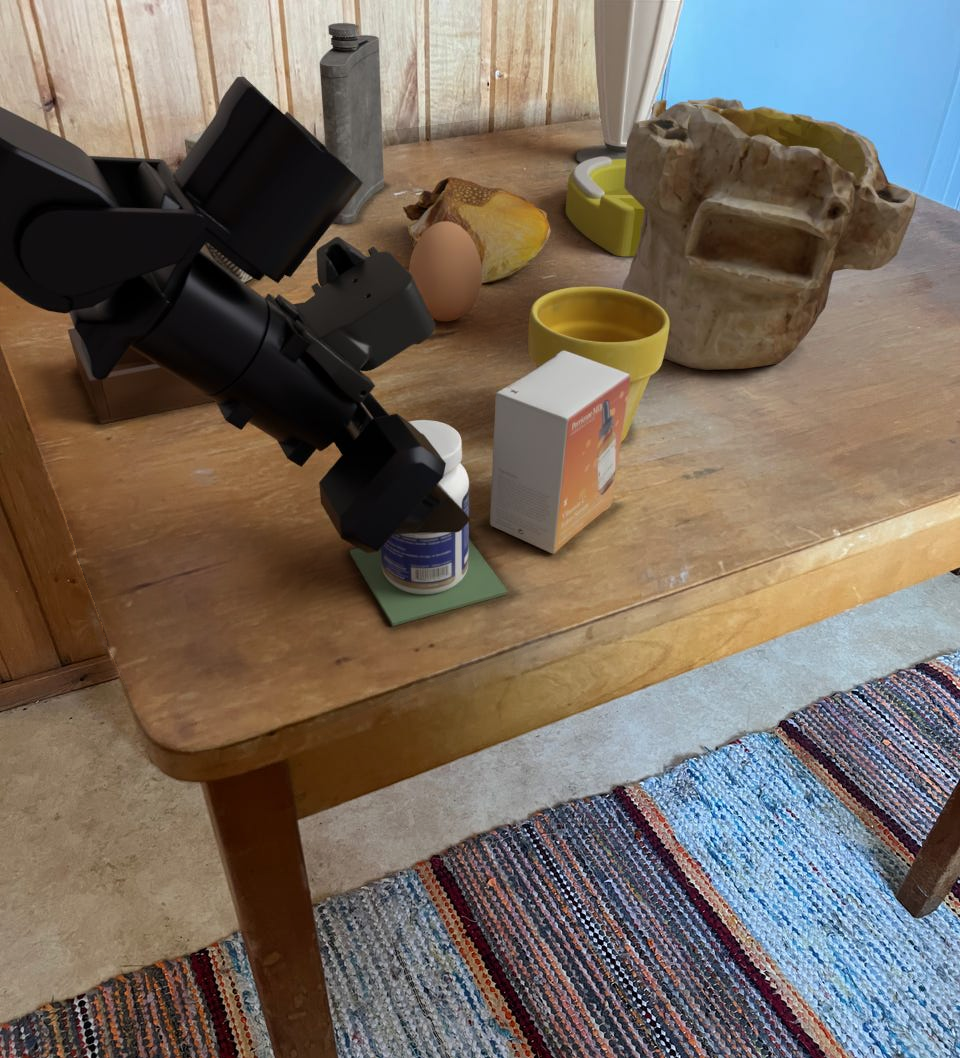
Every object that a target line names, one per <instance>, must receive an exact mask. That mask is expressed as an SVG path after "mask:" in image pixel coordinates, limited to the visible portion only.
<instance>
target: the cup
mask: <svg viewBox="0 0 960 1058" xmlns="http://www.w3.org/2000/svg"><path fill="white" fill-rule="evenodd" d="M684 2H685V0H593V31H594V32H593V33H594V53H595V55H594V56H595V57H594V58H595V75H596V86H597V88H596V89H597V98H598V99H597V101H598V109H599V116H600V123H601V129H602V130H601V131H602V136H603V142H604V145H595V146H591V147H590V146H589V147H586V148H583V149H581V150H580V151H579V152H577V153H576V161H577V162H578V164H580V163H582V162H584V161H586V160H589V159H592V158H596V157H602V156H603V157H609V158H610V159H626V145H627V140H628V138H629V135H630V133H631V131H632V128H633V125H634V123H636V122H640V121H644V120H650V119H651V116H652V107H653V104H654V103H656V100H657V98H658V94H659V91H660V88H661V85H662V82H663V79H664V75H665V72H666V70H667V69H666V68H667V65H668V61H669V59H670V54H671V51H672V48H673V45H674V41H675V37H676V33H677V30H678V25H679V22H680V18H681V14H682V10H683V6H684Z"/></svg>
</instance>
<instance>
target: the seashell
mask: <svg viewBox="0 0 960 1058" xmlns="http://www.w3.org/2000/svg"><path fill="white" fill-rule="evenodd" d="M402 209H403V211H404V213H405V215H406V218H407V219H408V220H410V221H411V222H414V221H415V222H414V223H410V224H409V225H408V226H407V232H408V235H409V237H410V239H411V244H412V246H413V249H414V248H415V246H416V244H417V242H418V240H419V239H420V237H421V236H422V234H423V233H424V232H425V231H426V230H427V229H428V228H429V227H430V226H432V225H434V224H436V223H439V222H444V221H448V222H452V223H455V224H457V225H459V226H460V227H462V228H463V229H464V230H465V231H466V232H467V233H468V234H469V236H470V237H471V239H472V240H473V242H474V244H475V246H476V249H477V251H478V254H479V256H480V261H481V266H482V284H487V283H493V282H496V281H499V280H501V279H504V278H508V277H509V276H511V275H513V274H515V273H516V272H518V271H519V270H521V269H522V268H525V266H527V265H529V264H530V263H532V262H533V261H534V260H535V259H536V257H537V255H538V254H539V252H541V251H542V250H543V249H544V247H545V246H546V244H547V242H548V240H549V239H550V235H551V227H550V226H551V225H550V222H549V221H548V213H547V212H546V211H545V210H543V209H541V208H538V207H537V206H536V205H534V204H533V203H532V202H530V201H528V200H527V199H526V198H524V197H522V196H520V195H517V194H516V193H513V192H509V191H508V190H505V189H503V188H499V187H488V186H483V185H480V184H478V183H476V182H474V181H471V180H466V179H462V178H457V177H453V176H450V177H449V176H448V177H447V178H445V179H442V180H440V181H439V182H438V183H437V184H436V186H434V189H433V190H432V191H429V190H423V191H422V192H421V193H420V194H419V198H418V201H417V202H416V203H415V204H409V205H407V206H404V205H403V206H402Z"/></svg>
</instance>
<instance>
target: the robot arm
mask: <svg viewBox="0 0 960 1058" xmlns="http://www.w3.org/2000/svg"><path fill="white" fill-rule="evenodd" d="M203 131H204V133H203V134H202V135H201V137H200V138H199V140H198V141H197V142H196V144H195V145H194V147H193V148H192V149H191V151H190V152H189V154H188V155H187V154H186V156H185V157H184V158H183V160H182V162H181V163H180V165H179V166H178V167H177V169H176V170H175V171H174V172H173V171H172V169H171V167H170V166H169V164H167V162H166V161H165V160H163V159H161V158H144V157H142V158H141V157H123V156H101V155H88V154H87V153H86V151H84V149H82V148H81V147H79V146H78V145H76V144H74V143H72V142H71V141H69V140H68V139H65V138H63V137H61V136H60V135H58V134H56V133H53V132H51V131H50V130H47V129H46V128H44V127H41V126H39V125H38V124H36V123H34V122H32V121H31V120H30V121H29V120H28V119H26V118H24V117H22V116H20V115H18V114H16V113H14V112H12V111H11V110H9V109H6V108H4V107H2V106H0V283H1V284H2V285H3V286H5V287H6V288H7V289H9V290H10V291H11V292H13V293H14V294H15V295H16V296H18V297H19V298H21V299H22V300H23V301H25V302H26V303H28V304H30V305H32V306H34V307H37V308H39V309H42V310H45V311H47V312H50V313H51V312H52V313H58V314H64V315H66V314H69V316H70V320H71V322H72V325H73V327H74V328H75V329H76V331H77V332H78V334H79V335H80V337H81V346H82V349H83V351H84V354H85V357H86V360H87V363H88V365H89V368H90V371H91V374H92V376H93V377H94V378H96V379H98V380H103V379H106V378H107V377H108V376H109V374H110V373H111V372H112V370H113V369H114V368H115V366H116V365H117V363H118V362H119V361H120V359H121V358H122V357H123V355H124V354H125V353H126V351H127V350H128V349H129V348H131V349H133V350H134V351H136V352H137V353H139V354H141V355H142V356H144V357H145V358H147V359H149V360H150V361H152V362H153V363H155V364H157V365H158V366H160V367H161V368H163V369H165V370H166V371H168V372H169V373H171V374H173V375H174V376H176V377H177V378H179V379H181V380H182V381H184V382H185V383H187V384H189V385H190V386H192V387H193V388H195V389H197V390H198V391H200V392H201V393H203V394H204V395H206V396H207V397H209V398H211V399H212V400H214V401H213V402H215V403H216V405H217V407H218V409H219V411H220V413H221V415H222V416H223V419H224V420H225V422H227V423H229V424H230V425H232V426H234V427H235V428H237V429H239V430H240V431H242V430H243V429H244V428H245V427H246V425H247V424H248V423H249V424H251V425H252V426H253V427H255V428H257V429H258V430H260V431H261V432H263V433H265V434H266V435H268V436H269V437H271V438H273V439H274V440H276V442H277V443H278V445H279V446H280V449H281V450H282V452H283V454H284V455H285V457H286V459H287V460H288V461H290V462H292V463H294V464H295V465H297V466H299V467H300V468H303V466H305V465H304V464H306V463H307V462H308V460H309V459H310V457H311V456H312V455H313V454H314V453H315V452H316V450H317V451H319V452H322V451H324V450H326V449H327V448H329V447H331V445H333V444H334V445H335V446H336V448H337V450H338V451H339V453H340V454H341V456H340V457H339V458H338V459H337V460H336V461H335V463H333V465H332V466H331V467H330V468H329V470H328V471H327V472H326V473H325V474H324V476H323V477H322V478H321V480H320V481H319V482H318V488H319V500H320V505H321V506H322V508H323V510H324V511H325V513H326V515H327V516H328V519H329V520H330V522H331V523H332V525H333V527H334V528H335V530H336V532H337V534H338V536H339V537H340V538H341V540H343V541H345V542H346V543H348V544H349V545H351V546H353V547H355V548H356V549H357V548H359V549H360V550H362V551H364V552H366V553H372V552H378V551H379V550H380V549H381V547H382V546H383V545H384V544H385V543H386V542H387V541H388V540H389V538H390V537H391V536H392V535H400V534H412V533H450V532H459V531H461V530H462V529H463V528H464V526H465V525H466V524H467V523H468V522H469V523H470V520H471V519H470V516H469V517H468V515H467V514H466V513H465V512H464V511H463V510H462V508H461V507H460V506H459V505H458V504H457V503H456V502H455V501H454V500H453V498H452V497H451V496H450V495H449V494H448V493H447V492H446V491H445V490H444V489H443V488H442V487H441V485H440V484H439V482H440V481H441V479H442V478H443V476H444V471H445V466H446V463H445V461H444V460H443V459H442V458H441V456H440V455H439V453H438V452H437V451H436V450H435V448H434V447H433V446H432V444H431V443H430V442H429V441H428V439H427V438H426V437H425V435H424V434H421V433H420V432H419V431H418V430H417V429H416V428H415V427H414V426H413V425H412V424H411V423H409V420H407V419H405V418H404V417H403V416H402V415H400V414H399V413H392V414H389V412H388V411H387V410H386V409H385V408H384V406H382V404H381V403H380V402H379V401H378V400H377V398H376V397H375V396H374V394H372V393H371V392H372V390H374V389H375V387H376V385H375V383H374V382H373V381H372V379H371V378H370V377H369V376H368V375H367V374H365V373H364V372H369V371H370V372H371V371H373V370H375V369H377V368H379V367H381V366H382V365H384V364H385V363H387V362H389V361H390V360H391V359H393V358H394V357H396V356H397V355H400V353H402V352H404V351H405V350H407V349H408V348H410V347H411V346H413V345H421V344H422V343H424V342H425V341H427V340H428V339H429V338H431V336H433V334H434V332H435V330H436V322H435V321H434V320H435V319H434V318H432V316H431V314H430V312H429V310H428V308H427V306H426V304H425V302H424V300H423V298H422V296H421V293H420V291H419V289H418V287H417V285H416V283H415V281H414V279H413V277H412V275H411V274H410V273H409V270H407V268H406V267H404V265H403V264H402V263H400V261H399V260H398V259H397V258H396V257H395V256H394V255H393V254H392V253H390V252H389V251H385V250H384V251H379V250H378V249H377V248H376V247H375V246H374V245H373V246H371V247H369V248H368V249H367V253H368V254H369V256H367V255H365V254H364V253H363V252H362V251H361V250H360V249H358V248H356V247H355V246H353V245H352V244H350V243H349V242H347V241H346V240H344V239H343V238H342V237H340V236H335V237H333V238H332V239H331V240H329V241H328V242H326V243H324V244H322V245H321V246H319V247H318V248H316V274H317V282H315V283H314V284H313V285H311V286H310V288H311V290H312V292H313V294H314V295H313V296H311V297H309V298H308V299H307V300H306V301H304V302H297V303H292V302H290V301H289V300H288V299H286V298H285V297H284V296H282V295H281V294H277V295H276V296H275V297H274V296H273V295H272V294H271V293H270V292H268V293H267V294H266V296H263V295H262V294H260V293H258V292H257V291H256V290H255V289H253V288H252V287H250V285H248V284H247V283H246V282H242V281H241V280H240V279H238V278H237V277H236V276H234V275H233V274H232V273H230V272H229V271H228V270H226V269H225V268H224V267H223V266H221V265H220V264H219V263H217V262H216V261H215V260H213V259H212V258H211V257H209V256H208V255H207V254H205V253H204V252H203V251H201V249H202V247H203V246H204V245H205V243H206V242H207V243H208V244H210V245H211V246H212V247H214V248H215V249H216V250H217V251H219V252H220V253H221V254H222V255H223V256H225V257H226V258H227V259H228V260H229V261H231V262H232V263H233V264H234V265H236V266H237V267H238V268H239V269H241V270H242V271H244V272H245V273H246V274H248V275H249V276H251V277H252V279H254V280H257V281H258V282H259V281H260V282H261V280H262V279H263V277H264V276H266V277H267V278H268V279H270V280H272V281H273V282H275V283H277V284H280V282H281V280H282V279H283V278H284V277H285V276H286V277H288V278H291V277H292V276H293V275H294V273H295V272H296V271H297V270H298V269H299V267H300V266H301V264H302V263H303V262H304V261H305V259H306V258H307V257H308V256H309V254H310V253H311V252H312V250H313V249H314V247H315V246H316V245H317V244H318V242H319V241H320V240H321V238H322V237H323V236H324V235H325V233H326V232H327V231H328V229H330V227H331V226H332V224H334V220H335V219H336V218H337V216H338V215H339V214H340V213H341V211H342V210H343V209H344V207H345V206H346V205H347V204H348V202H349V201H350V200H351V198H352V197H353V196H354V194H355V193H356V192H357V191H358V189H359V188H360V187H361V185H362V184H363V182H362V181H361V180H360V179H359V178H358V177H357V176H356V175H355V174H354V173H353V172H351V171H350V170H349V169H348V168H347V167H346V166H345V165H344V164H343V163H342V162H341V161H340V160H339V159H338V158H337V157H336V156H335V155H334V154H333V153H331V152H330V151H329V150H328V149H327V148H326V147H325V144H323V143H322V142H321V141H320V140H319V139H318V138H317V137H316V136H315V135H314V134H312V132H310V131H309V130H308V129H307V128H306V127H305V126H304V125H303V124H302V123H301V122H299V121H298V120H297V119H296V118H295V116H293V115H292V114H291V113H289V111H286V112H285V113H283V112H282V111H281V110H280V109H279V108H278V107H277V106H276V105H275V104H274V103H273V102H272V101H271V100H270V99H269V98H267V96H265V95H264V94H263V92H262V91H260V90H259V89H258V88H257V87H256V86H255V85H254V84H253V83H252V82H251V81H249V80H248V79H247V78H246V77H245V76H237V77H236V78H235V79H234V81H233V82H232V84H231V85H230V86H229V88H228V89H227V91H226V92H225V93H224V95H223V97H222V98H221V100H220V102H219V105H218V108H217V110H216V113H215V115H214V116H213V118H212V120H211V121H210V122H209V124H208V125H207V127H206V128H205V130H203Z"/></svg>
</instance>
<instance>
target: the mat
mask: <svg viewBox="0 0 960 1058" xmlns="http://www.w3.org/2000/svg"><path fill="white" fill-rule="evenodd" d="M349 553H350V556H351V558H352V559H353V561H354V563H355V565H356V566H357V568H358V569H359V571H360V573H361V575H362V576H363V579H364V580H365V582H366V583H367V585H368V587H369V589H370V590H371V592H372V594H373V596H374V597H375V599H376V601H377V602H378V604H379V606H380V608H381V609H382V611H383V613H384V615H385V616H386V618H387V620H388V622H389V623H390V625H391V626H392V627H395V626H399V625H403V624H405V623H411V622H413V621H416V620H420V619H424V618H427V617H431V616H434V615H438V614H443V613H446V612H449V611H453V610H455V609H456V610H457V609H460V608H464V607H467V606H471V605H476V604H478V603H482V602H485V601H489V600H492V599H496V598H500V597H503V596H507V595H508V590H507V589H506V587H505V585H504V584H503V583H502V582H501V580H500V579H499V578H498V576H497V574H495V572H494V570H493V569H492V568H491V567H490V565H489V563H487V561H486V560H485V558H484V557H483V556H482V554H481V553H480V552H479V550H478V549H477V547H476V546H475V545H474V543H473V542H472V540H471V539H470V538H469V553H468V554H469V558H468V569H467V572H466V574H465V576H464V577H463V579H462V580H461V581H460V582H459V583H458V584H457V585H455V586H454V587H452V588H450V589H448V590H446V591H443V592H440V593H435V594H414V593H409V592H406V591H403V590H401V589H399V588H397V587H395V586H394V585H393V584H391V583H390V582H389V581H388V580H387V578H386V577H385V575H384V573H383V570H382V562H381V549H380V550H379V551H378V552H372V553H366V552H364V551H362V550H360V549H359V548H357V547H356V548H354V549H350V550H349Z"/></svg>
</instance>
